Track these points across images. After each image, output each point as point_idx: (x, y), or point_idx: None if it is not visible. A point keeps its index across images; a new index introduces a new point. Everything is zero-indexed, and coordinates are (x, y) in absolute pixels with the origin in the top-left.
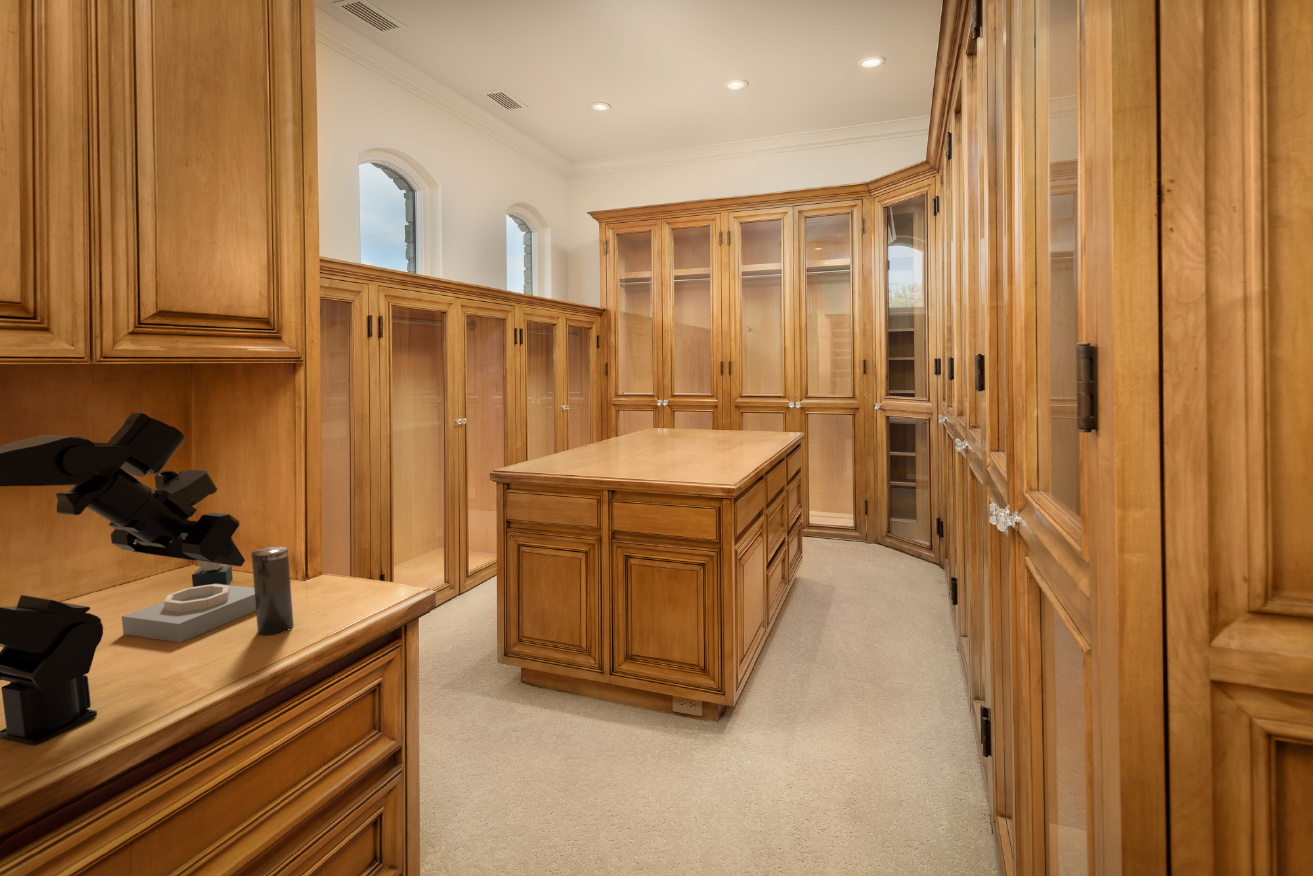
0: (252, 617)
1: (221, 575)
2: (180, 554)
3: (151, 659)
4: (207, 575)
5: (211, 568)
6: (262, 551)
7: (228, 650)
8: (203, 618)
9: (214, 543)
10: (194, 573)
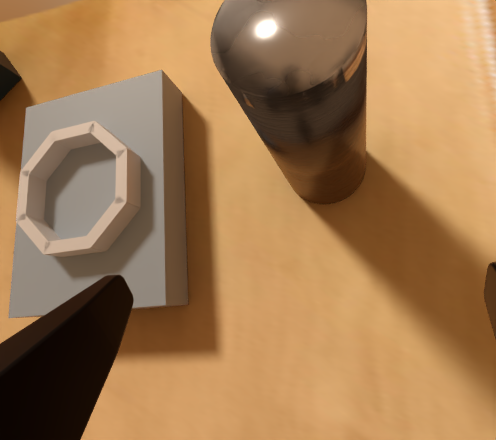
0: (208, 148)
1: None
2: (86, 392)
3: (213, 393)
4: None
5: None
6: (255, 46)
7: (337, 296)
8: (169, 241)
9: None
10: None
